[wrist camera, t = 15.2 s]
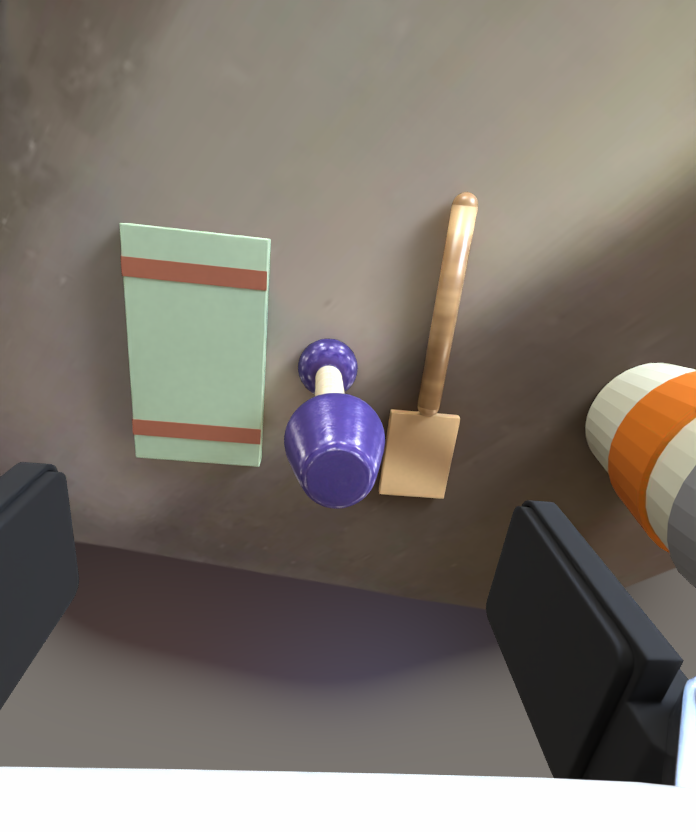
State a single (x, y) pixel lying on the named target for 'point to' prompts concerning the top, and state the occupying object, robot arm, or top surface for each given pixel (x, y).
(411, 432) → the wooden spatula
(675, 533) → the reusable coffee cup
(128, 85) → the top surface
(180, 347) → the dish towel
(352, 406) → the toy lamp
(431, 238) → the top surface
